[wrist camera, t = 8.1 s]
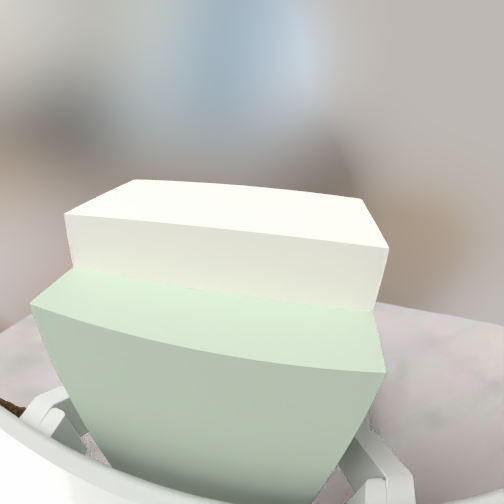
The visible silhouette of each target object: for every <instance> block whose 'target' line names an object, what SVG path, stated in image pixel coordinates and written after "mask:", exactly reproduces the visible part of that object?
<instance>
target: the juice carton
mask: <svg viewBox="0 0 504 504" xmlns="http://www.w3.org/2000/svg"><path fill="white" fill-rule="evenodd" d="M64 218H65V224H66V230H67V236H68V242H69V247H70V252H71V258H72V262H73V268H72V269H71V270H69V271H68V272H67V273H65V274H64V275H63V276H62V277H60V278H59V279H58V280H57V281H56V282H54V283H53V284H52V285H51V286H49V287H48V288H47V289H46V290H45V291H43V292H42V293H41V294H40V295H39V296H37V297H36V298H35V299H34V300H33V301H32V302H30V303H29V305H30V308H31V311H32V314H33V316H34V319H35V322H36V324H37V327H38V330H39V332H40V335H41V337H42V340H43V342H44V344H45V347H46V349H47V352H48V354H49V356H50V358H51V361H52V363H53V365H54V367H55V369H56V371H57V374H58V376H59V378H60V380H61V382H62V384H63V386H64V388H65V390H66V392H67V394H68V396H69V397H70V399H71V401H72V403H73V405H74V407H75V409H76V410H77V412H78V414H79V416H80V417H81V419H82V421H83V422H84V424H85V426H86V428H87V429H88V431H89V432H90V434H91V436H92V437H93V439H94V440H95V442H96V444H97V445H98V447H99V448H100V450H101V451H102V453H103V454H104V456H105V457H106V459H107V460H108V462H109V463H110V464H111V466H112V467H113V468H115V469H117V470H120V471H122V472H125V473H127V474H130V475H133V476H135V477H138V478H141V479H144V480H146V481H149V482H152V483H155V484H158V485H161V486H165V487H168V488H171V489H175V490H178V491H182V492H185V493H189V494H193V495H197V496H201V497H205V498H209V499H214V500H218V501H223V502H228V503H233V504H311V502H312V501H313V500H314V498H315V497H316V496H317V494H318V493H319V491H320V490H321V488H322V487H323V485H324V484H325V482H326V481H327V479H328V478H329V476H330V475H331V473H332V472H333V470H334V469H335V467H336V466H337V464H338V462H339V461H340V459H341V458H342V456H343V454H344V453H345V451H346V449H347V448H348V446H349V444H350V443H351V441H352V439H353V437H354V436H355V434H356V432H357V430H358V429H359V427H360V425H361V423H362V421H363V419H364V418H365V416H366V414H367V412H368V410H369V408H370V406H371V404H372V402H373V400H374V398H375V396H376V394H377V392H378V390H379V388H380V386H381V384H382V382H383V379H384V377H385V375H386V368H385V363H384V358H383V353H382V349H381V344H380V340H379V336H378V331H377V327H376V323H375V319H374V315H373V308H374V305H375V302H376V298H377V294H378V291H379V287H380V284H381V280H382V276H383V272H384V269H385V265H386V260H387V256H388V252H389V247H388V245H387V243H386V241H385V240H384V238H383V236H382V234H381V232H380V231H379V229H378V227H377V225H376V223H375V222H374V220H373V218H372V216H371V215H370V213H369V211H368V209H367V208H366V206H365V204H364V203H363V201H362V199H357V198H350V197H342V196H335V195H327V194H318V193H310V192H302V191H293V190H283V189H272V188H263V187H252V186H240V185H227V184H213V183H197V182H178V181H160V180H159V181H158V180H133V181H130V182H128V183H126V184H124V185H122V186H120V187H117V188H115V189H113V190H111V191H109V192H107V193H104V194H102V195H100V196H98V197H96V198H94V199H92V200H90V201H88V202H86V203H84V204H82V205H80V206H78V207H76V208H74V209H72V210H70V211H69V212H67V213H65V214H64Z"/></svg>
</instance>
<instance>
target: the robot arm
mask: <svg viewBox="0 0 504 504" xmlns="http://www.w3.org/2000/svg"><path fill="white" fill-rule="evenodd" d="M88 432H89V431H88V429H87V428H86V426H85V424H84V422H83V421H82V419H81V417H80V416H79V414H78V412H77V410H76V409H75V407H74V405H73V403H72V401H71V399H70V397H69V396H68V394H67V392H66V390H65V388H64V386H63V385H62V386H59V387H57V388H54V389H52V390H50V391H47V392H45V393H43V394H40V395H38V396H36V397H35V398H34V400H33V401H32V402H31V404H30V405H29V406H28V407H27V409H26V410H25V411H24V413H23V414H22V415H21V416H20V418H18V417H17V416H15V415H14V414H12V413H11V412H9V411H8V410H6V409H5V408H4V407H2V406H1V405H0V504H233V503H228V502H223V501H218V500H214V499H209V498H205V497H201V496H197V495H193V494H189V493H185V492H182V491H178V490H175V489H171V488H168V487H165V486H161V485H158V484H155V483H152V482H149V481H146V480H144V479H141V478H138V477H135V476H133V475H130V474H127V473H125V472H122V471H120V470H117V469H115V468H112V467H110V466H108V465H105V464H103V463H101V462H99V461H96V460H94V459H92V458H90V457H88V456H86V455H84V454H85V453H86V451H87V447H86V445H85V443H84V442H83V441H82V439H81V438H80V437H81V436H83V435H84V434H86V433H88ZM338 465H339V466H340V468H341V470H342V471H343V473H344V475H345V476H346V478H347V480H348V481H349V483H350V485H351V486H352V488H353V489H354V491H355V494H354V495H353V496H352V497H351V498H350V499H349V500H348V501H347V502H346V503H345V504H416V501H415V490H414V481H413V475H412V474H411V473H410V471H409V470H408V469H407V468H406V467H405V466H404V465H403V463H402V462H401V461H400V460H399V459H398V458H397V456H396V455H395V454H394V453H393V452H392V451H391V450H390V448H389V447H388V446H387V445H386V444H385V443H384V441H383V440H382V439H381V438H380V437H379V436H378V434H377V433H376V432H375V431H370V421H369V411H368V412H367V414H366V416H365V418H364V419H363V421H362V423H361V425H360V427H359V429H358V430H357V432H356V434H355V436H354V437H353V439H352V441H351V443H350V444H349V446H348V448H347V449H346V451H345V453H344V454H343V456H342V458H341V459H340V461H339V462H338ZM442 504H504V487H503V488H500V489H497V490H494V491H490V492H487V493H484V494H480V495H476V496H473V497H469V498H465V499H461V500H456V501H452V502H447V503H442Z"/></svg>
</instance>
